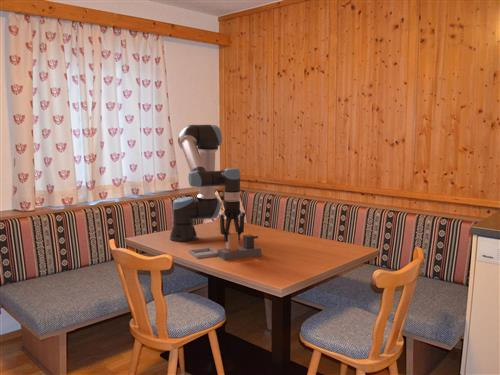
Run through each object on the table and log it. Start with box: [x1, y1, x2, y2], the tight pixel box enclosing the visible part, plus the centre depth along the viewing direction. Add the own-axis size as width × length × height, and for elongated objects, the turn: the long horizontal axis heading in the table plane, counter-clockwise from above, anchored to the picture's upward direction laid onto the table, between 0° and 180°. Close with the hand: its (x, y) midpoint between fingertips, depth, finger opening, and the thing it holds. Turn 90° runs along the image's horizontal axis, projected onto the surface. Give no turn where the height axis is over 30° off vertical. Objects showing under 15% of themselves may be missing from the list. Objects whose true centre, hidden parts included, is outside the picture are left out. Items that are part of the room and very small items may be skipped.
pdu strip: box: [217, 234, 262, 261], centre depth 227 cm, size 8×20×10 cm, turn 118°
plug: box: [227, 230, 239, 252], centre depth 225 cm, size 4×4×10 cm
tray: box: [188, 246, 218, 259], centre depth 229 cm, size 11×11×2 cm
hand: (232, 247), depth 225 cm, fingers closed on plug, 4 cm apart
